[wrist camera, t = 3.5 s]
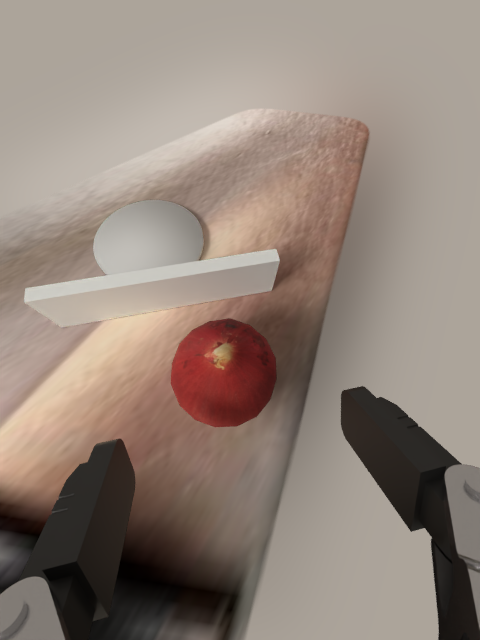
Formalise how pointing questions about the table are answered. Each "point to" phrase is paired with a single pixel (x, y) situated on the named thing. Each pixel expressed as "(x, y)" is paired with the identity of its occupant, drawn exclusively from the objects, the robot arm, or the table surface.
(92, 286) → the divider
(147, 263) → the coaster
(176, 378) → the onion
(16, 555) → the table surface
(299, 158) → the table surface
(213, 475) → the table surface
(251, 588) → the table surface
